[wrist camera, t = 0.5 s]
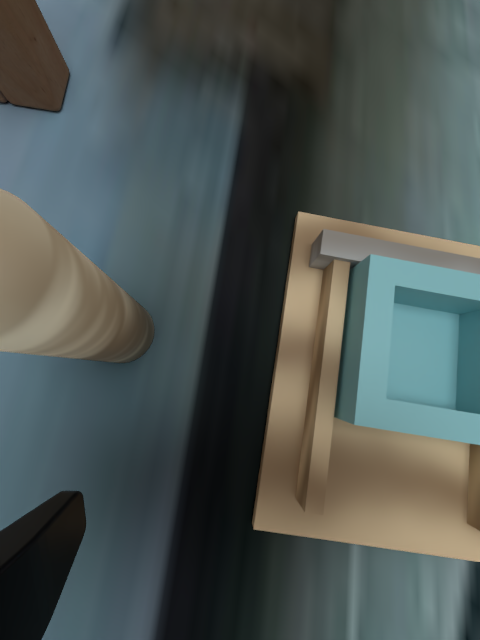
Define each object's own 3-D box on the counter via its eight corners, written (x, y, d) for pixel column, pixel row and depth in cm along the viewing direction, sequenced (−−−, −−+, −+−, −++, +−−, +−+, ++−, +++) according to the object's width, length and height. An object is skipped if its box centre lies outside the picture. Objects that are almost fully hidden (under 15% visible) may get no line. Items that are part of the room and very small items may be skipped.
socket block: (465, 436, 20) (526, 452, 16) (326, 414, 20) (354, 424, 16) (470, 299, 22) (527, 283, 18) (341, 276, 21) (370, 253, 17)
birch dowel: (147, 367, 20) (24, 359, 7) (83, 357, 20) (-158, 329, 7) (160, 306, 21) (68, 200, 8) (98, 296, 21) (-97, 169, 8)
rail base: (505, 559, 20) (559, 595, 17) (252, 523, 19) (259, 552, 16) (509, 257, 23) (555, 239, 20) (295, 217, 22) (308, 191, 19)
